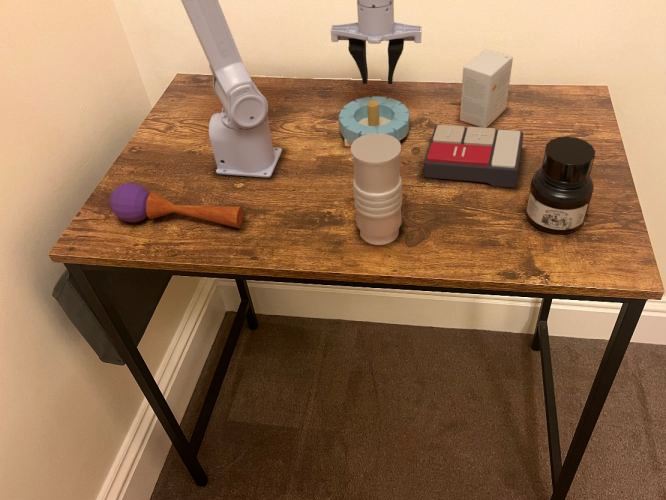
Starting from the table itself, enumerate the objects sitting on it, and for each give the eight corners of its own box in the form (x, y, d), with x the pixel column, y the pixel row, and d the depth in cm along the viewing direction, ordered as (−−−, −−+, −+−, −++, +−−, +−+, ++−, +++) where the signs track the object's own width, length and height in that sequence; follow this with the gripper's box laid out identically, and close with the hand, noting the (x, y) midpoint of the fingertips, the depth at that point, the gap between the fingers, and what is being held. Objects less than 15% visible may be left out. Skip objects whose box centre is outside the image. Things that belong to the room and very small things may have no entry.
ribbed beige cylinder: (406, 219, 95) (406, 135, 84) (396, 250, 90) (395, 165, 79) (363, 213, 96) (357, 130, 85) (351, 243, 92) (344, 159, 81)
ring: (334, 145, 107) (332, 132, 105) (347, 107, 115) (346, 94, 113) (404, 149, 105) (404, 136, 103) (412, 111, 113) (412, 98, 111)
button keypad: (435, 121, 106) (524, 127, 103) (435, 142, 109) (521, 149, 106) (422, 158, 99) (518, 166, 96) (423, 180, 102) (515, 188, 99)
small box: (480, 101, 117) (485, 47, 110) (506, 109, 115) (514, 55, 107) (458, 120, 113) (462, 66, 105) (485, 130, 111) (491, 75, 103)
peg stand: (344, 146, 108) (342, 116, 104) (353, 118, 114) (351, 88, 110) (395, 149, 107) (395, 119, 103) (402, 121, 113) (402, 91, 109)
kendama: (231, 221, 90) (98, 202, 91) (238, 244, 95) (112, 227, 96) (242, 189, 93) (113, 172, 94) (248, 214, 98) (126, 197, 99)
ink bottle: (516, 227, 93) (528, 161, 84) (529, 192, 99) (541, 126, 90) (582, 242, 91) (601, 176, 82) (591, 205, 96) (610, 139, 87)
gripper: (325, 11, 94) (332, 92, 104) (421, 11, 93) (419, 94, 103) (331, -9, 98) (337, 71, 108) (422, -8, 97) (420, 72, 107)
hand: (377, 81), depth 106 cm, fingers open, 4 cm apart
